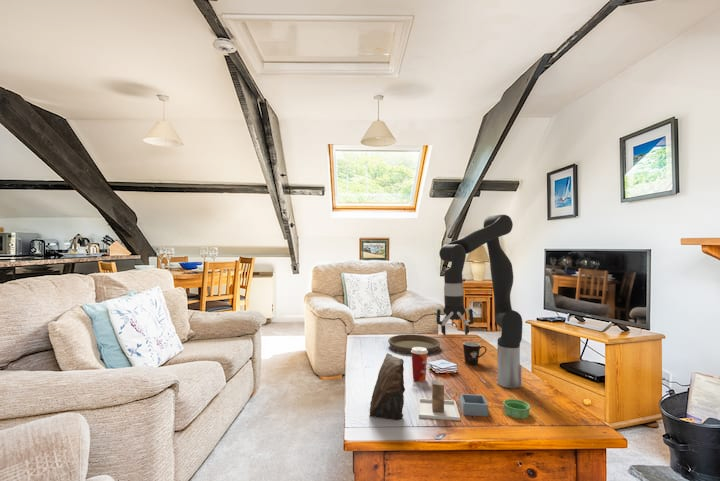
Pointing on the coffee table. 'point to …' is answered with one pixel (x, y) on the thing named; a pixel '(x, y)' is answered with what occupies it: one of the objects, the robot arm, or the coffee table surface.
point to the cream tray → (448, 414)
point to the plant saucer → (413, 343)
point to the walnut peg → (438, 396)
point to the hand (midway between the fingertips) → (455, 334)
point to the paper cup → (419, 363)
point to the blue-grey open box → (473, 405)
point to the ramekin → (516, 408)
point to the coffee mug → (472, 352)
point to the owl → (389, 390)
